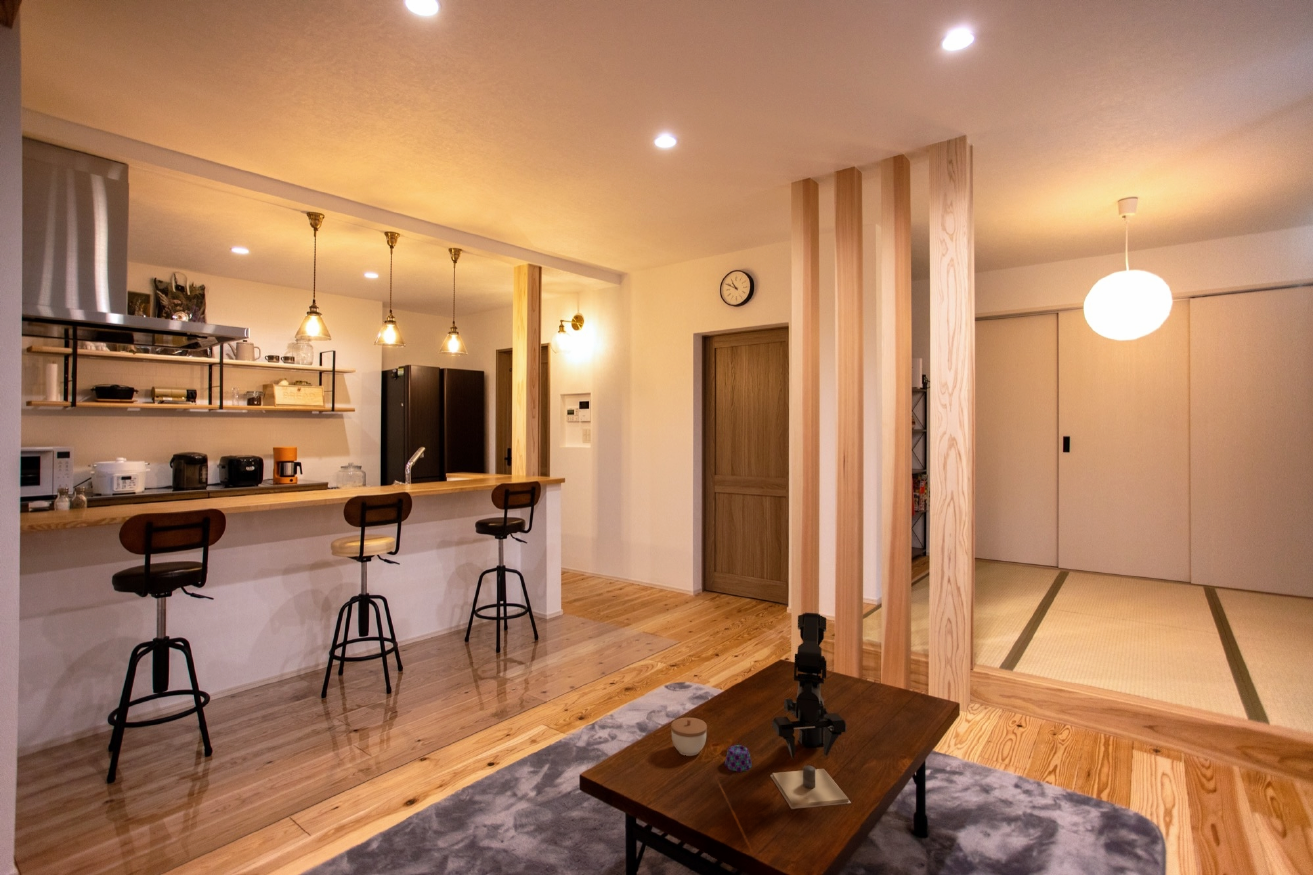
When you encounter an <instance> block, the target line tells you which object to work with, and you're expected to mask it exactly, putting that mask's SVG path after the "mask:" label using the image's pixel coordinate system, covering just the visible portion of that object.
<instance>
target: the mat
mask: <svg viewBox="0 0 1313 875" xmlns="http://www.w3.org/2000/svg"><path fill="white" fill-rule="evenodd" d="M770 778H771V780H773V782H774V784H775V785H776V787H777V789H778V790H779V792H780V793H781V794H782V797H783V798H784V800H785V801H786V803H787V804H788V805H789V808H790V809H791V810H795V809H804V808H805V809H806V808H814V807H815V808H816V807H824V806H825V807H826V806H834V805H835V806H836V805H846V804H847V805H848V804H852V802H851V801H850V800H849V802H843V803H833V804H823V805H812V806H802V807H792V805H791V804H790V802H789V801H788V799H787V798H786V796H785V795H784V793H783V792H782V790H781V788H780V787H779V785H778V784H777V782H776V781H775V779H774V778H773V776H772V774H770Z"/></svg>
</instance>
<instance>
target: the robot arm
mask: <svg viewBox="0 0 1313 875" xmlns="http://www.w3.org/2000/svg"><path fill="white" fill-rule="evenodd" d="M797 629H798V630H799V633H800V634H799V636H800V639H801V640H802V643H801V644H799V645H798V646H797V653H794V663H793V664H794V666H793V668H794V669H793V670H794V671H793V681H795V682H797V683H798V684H797V688H798V689H797V693H796V694H797V695H796V699H795V700H796V701H794V700H793V698H784V701H783V706H784V711H785V712H788V713H789V712H790V714H791V715H794V718H795V719H797V720H795V721H794V720H793V721H791V720H790V719H789V718H788V716H780V717H779V716H778V717H774V718H773V720H772V722H771V723H772V724H771V725H772V726H771V727H772V729H773V730H774V731H775V733H776V734H777V735H778V737H780V738H782V739H783V740H785V743H786V745H787V748H788V751H789V755H790V757H791V758H792V760H794V759H795V757H796V756H795V755H796V753H795V752H796V737H795V735H794V734H795V730H798V742H799V744H801V745H802V747H804V748H805V749H817V748H823V755H824V756H825V757H827V756H828V754H829V752H831V749H832V747H833V745H834V743H835V742H836V741H837V739H838V737H839V736H842V735H843V733H846V732H847V731H848V730H847V727H848V726H847V725H848V724H847V723H846V722H847V721H846V720H845V719H843V717H842V716H840V715H839V713H838V712H833V713H829V712H828V711H827V708H826V707H825V700H824V698H823V697H822V695H821V685H822V684H825V680H826V679H827V660H826V657H825V655H822V650H823V649H822V646H821V644H822V642H823V641H824V639H825V633H826V632H827V617H826V616H823V615H821V614H820V613H817V612H803V613H802V614H799V615H797ZM797 672H798V673H797Z"/></svg>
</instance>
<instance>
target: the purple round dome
mask: <svg viewBox="0 0 1313 875" xmlns="http://www.w3.org/2000/svg"><path fill="white" fill-rule="evenodd" d="M751 759H752V758H751V754H750V751H749V749H748V747H746V746H743V745H741V744H738V745H735V744H734V745H732V746H729V747H728V749H727V752H726V757H725V759H724V760H725V761H724V767H726V768H728V770H730V771H735V772H736V773H737V772H740V773H741V772H745V771H746V772H747V771H749V770H750V768H752V767H753V765H752V760H751Z"/></svg>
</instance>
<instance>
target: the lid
mask: <svg viewBox="0 0 1313 875" xmlns="http://www.w3.org/2000/svg"><path fill="white" fill-rule="evenodd" d="M771 775H772V776H773V778H774V779H775V781H776V782H777V784H778V785H779V787H780V788H781V790H782V792H783V793H784V795H785V796H786V798H787V799H788V801H789V802H790V804H791V805H792V807H802V806H812V805H823V804H833V803H843V802H849V801H850V799H849V797H848V796H847V794H845V793H844V790H842V789H841V788H840V787H839V785H838V784H837V783H836V782H835V780H834V779H833V778H832V777H831V775H830V774H829V773H828V771H826V770H825V768H817V769H816V767H814V766H812V765H804V766H803V767H802V770H792V771H785V772H784V771H782V772H772V773H771Z"/></svg>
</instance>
